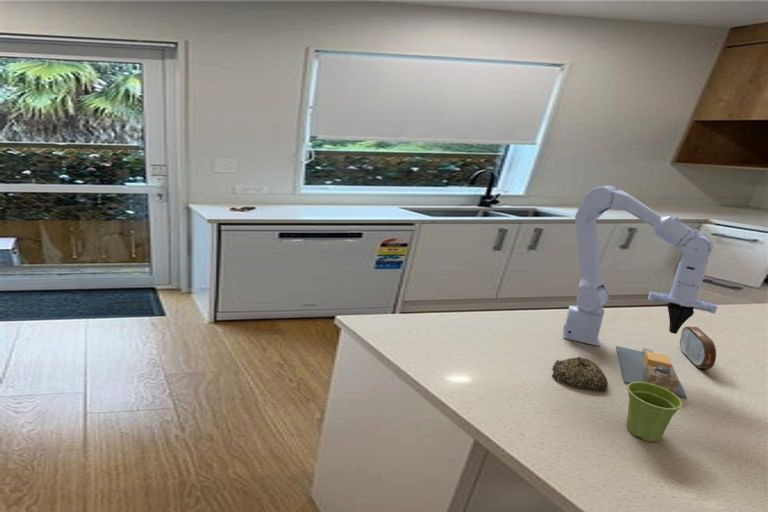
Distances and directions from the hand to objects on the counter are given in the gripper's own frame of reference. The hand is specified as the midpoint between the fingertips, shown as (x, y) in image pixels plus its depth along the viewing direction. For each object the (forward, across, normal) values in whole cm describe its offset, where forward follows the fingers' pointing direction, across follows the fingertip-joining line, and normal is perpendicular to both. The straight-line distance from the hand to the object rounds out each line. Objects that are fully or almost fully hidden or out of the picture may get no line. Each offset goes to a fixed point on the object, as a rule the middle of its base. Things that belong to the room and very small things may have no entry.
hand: (672, 331), depth 116 cm
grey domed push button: (+9, -3, -14) cm, 17 cm away
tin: (+10, +9, +9) cm, 16 cm away
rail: (+10, -3, -4) cm, 11 cm away
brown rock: (+10, -21, -19) cm, 30 cm away
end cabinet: (+10, -3, -14) cm, 17 cm away
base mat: (+10, -4, -5) cm, 12 cm away
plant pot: (+10, -9, -35) cm, 38 cm away
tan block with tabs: (+10, -3, -7) cm, 13 cm away
